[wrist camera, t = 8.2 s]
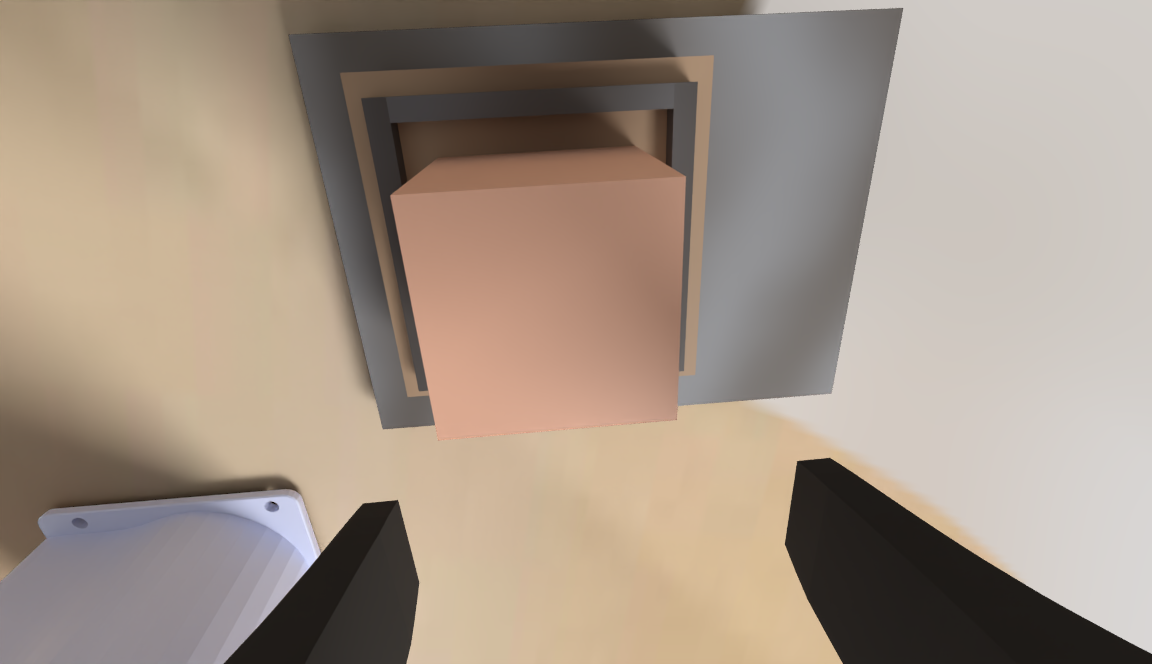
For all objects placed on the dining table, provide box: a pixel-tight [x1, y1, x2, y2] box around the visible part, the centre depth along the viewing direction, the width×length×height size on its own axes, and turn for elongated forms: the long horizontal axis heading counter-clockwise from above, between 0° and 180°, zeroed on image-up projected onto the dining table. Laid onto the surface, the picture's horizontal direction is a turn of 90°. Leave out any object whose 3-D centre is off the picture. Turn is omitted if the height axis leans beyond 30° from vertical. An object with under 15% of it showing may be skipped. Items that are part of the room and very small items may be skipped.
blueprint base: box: [289, 8, 903, 429], centre depth 15 cm, size 16×12×5 cm
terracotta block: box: [390, 146, 686, 440], centre depth 11 cm, size 4×4×4 cm
